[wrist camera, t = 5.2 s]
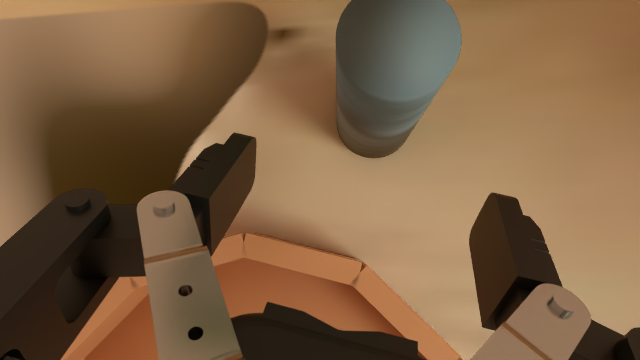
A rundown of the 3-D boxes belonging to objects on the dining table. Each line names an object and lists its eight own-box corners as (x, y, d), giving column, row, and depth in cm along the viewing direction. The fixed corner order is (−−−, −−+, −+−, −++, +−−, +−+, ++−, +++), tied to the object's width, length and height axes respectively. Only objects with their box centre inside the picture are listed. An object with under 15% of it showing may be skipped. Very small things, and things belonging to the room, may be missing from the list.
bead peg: (416, 96, 24) (472, -7, 14) (401, 165, 23) (448, 109, 13) (346, 81, 24) (351, -29, 14) (329, 148, 24) (322, 82, 14)
